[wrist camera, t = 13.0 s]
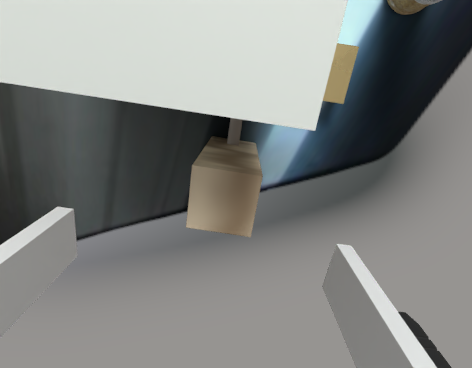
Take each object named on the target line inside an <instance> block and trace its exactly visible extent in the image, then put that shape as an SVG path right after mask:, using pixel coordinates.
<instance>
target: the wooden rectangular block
mask: <svg viewBox="0 0 472 368" xmlns="http://www.w3.org/2000/svg"><path fill="white" fill-rule="evenodd" d="M242 121H243V120H242V119H236V118H231V119H230V126H229V133H228V139H227V138H221V137H214V136H212V137H211V138H210V140H209V141H208V143H207V144H206V146H205V147H204V149H203V150H202V152H201V153H200V154H199V156H198V157H197V159H196V160H195V162H194V163H193V165H192V171H191V182H190V192H189V203H188V213H187V223H186V227H187V228H193V229H200V230H206V231H214V232H220V233H227V234H233V235H240V236H247V237H251V232H252V227H253V222H254V217H255V212H256V207H257V202H258V197H259V192H260V187H261V182H262V177H263V176H262V171H261V166H260V161H259V157H258V152H257V147H256V143H253V142H246V141H240V133H241V127H242Z"/></svg>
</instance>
